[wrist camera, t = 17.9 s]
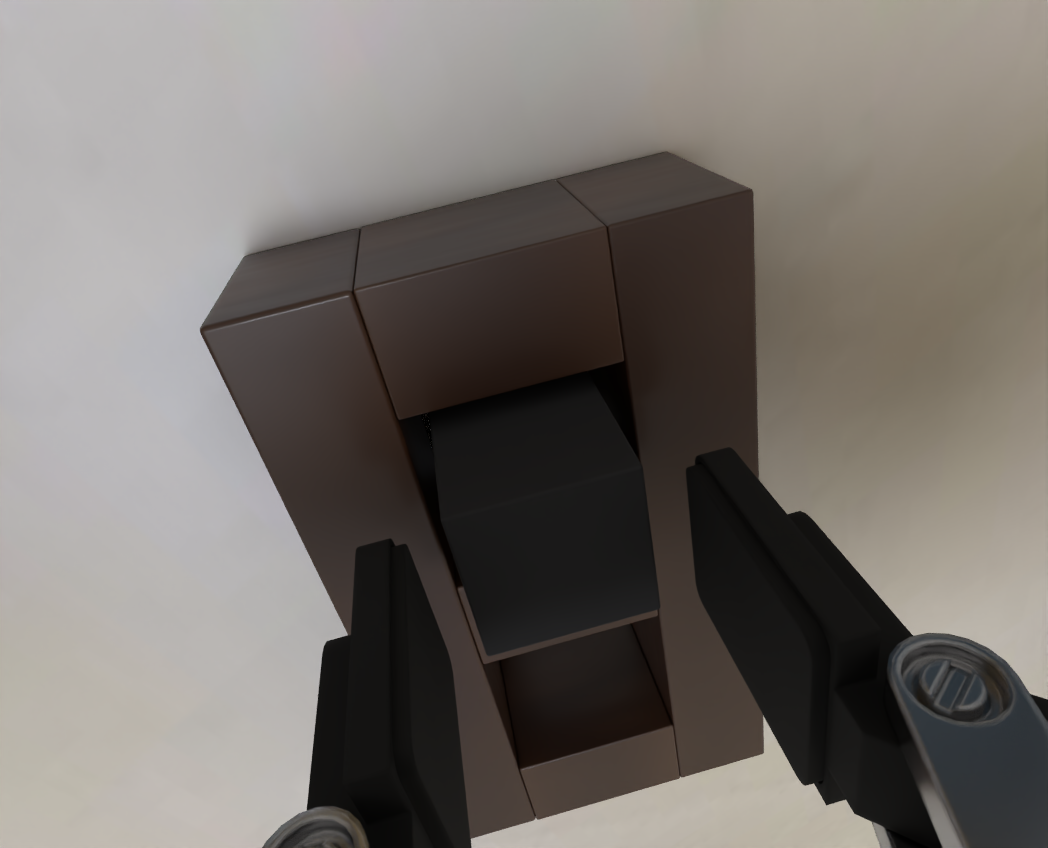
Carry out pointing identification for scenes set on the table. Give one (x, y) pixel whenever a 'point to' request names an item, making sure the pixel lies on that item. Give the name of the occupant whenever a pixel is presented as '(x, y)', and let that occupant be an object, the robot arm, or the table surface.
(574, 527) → the black rectangular block
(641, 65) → the table surface
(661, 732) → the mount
